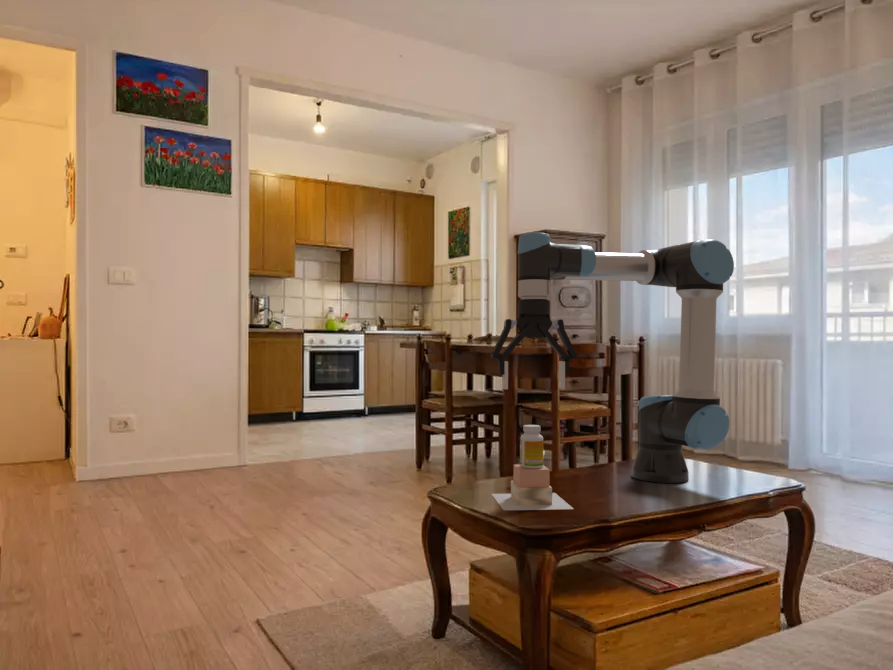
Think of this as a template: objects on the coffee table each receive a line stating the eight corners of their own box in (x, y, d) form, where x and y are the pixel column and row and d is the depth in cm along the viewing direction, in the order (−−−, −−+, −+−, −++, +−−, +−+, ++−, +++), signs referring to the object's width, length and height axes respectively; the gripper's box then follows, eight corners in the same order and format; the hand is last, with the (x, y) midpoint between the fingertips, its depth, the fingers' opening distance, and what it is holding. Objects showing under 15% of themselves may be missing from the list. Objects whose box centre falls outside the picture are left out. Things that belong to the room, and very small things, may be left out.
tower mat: (555, 494, 166) (555, 492, 166) (574, 510, 150) (574, 509, 150) (491, 495, 164) (491, 493, 164) (503, 512, 149) (503, 510, 149)
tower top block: (542, 480, 161) (542, 464, 161) (549, 487, 154) (549, 469, 154) (513, 481, 161) (513, 464, 161) (519, 487, 154) (519, 470, 154)
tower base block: (543, 496, 162) (543, 480, 162) (552, 504, 154) (552, 487, 154) (510, 497, 161) (510, 480, 161) (517, 505, 153) (517, 487, 153)
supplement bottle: (548, 467, 157) (548, 426, 157) (530, 470, 154) (530, 427, 154) (533, 464, 161) (533, 423, 161) (515, 466, 158) (515, 425, 158)
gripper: (580, 300, 163) (580, 387, 163) (479, 299, 161) (478, 387, 160) (590, 298, 156) (590, 389, 156) (484, 297, 153) (484, 390, 153)
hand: (533, 389), depth 158 cm, fingers open, 13 cm apart
